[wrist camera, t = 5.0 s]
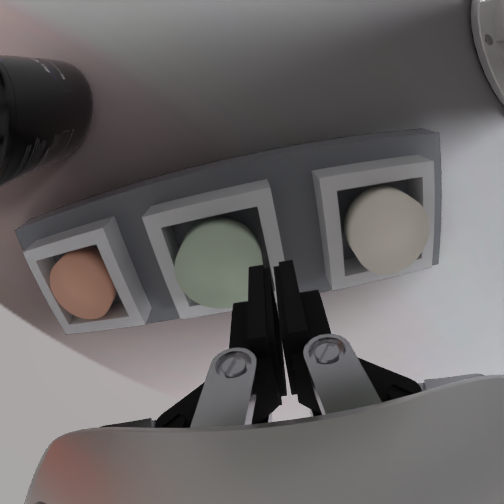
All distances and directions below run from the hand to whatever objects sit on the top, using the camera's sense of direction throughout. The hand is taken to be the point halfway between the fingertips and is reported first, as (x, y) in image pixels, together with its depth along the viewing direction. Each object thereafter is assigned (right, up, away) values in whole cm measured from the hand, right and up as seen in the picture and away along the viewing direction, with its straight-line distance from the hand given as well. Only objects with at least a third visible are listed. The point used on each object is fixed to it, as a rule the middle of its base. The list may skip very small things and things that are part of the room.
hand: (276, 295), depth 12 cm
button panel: (-3, +3, +8) cm, 9 cm away
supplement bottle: (-14, +11, +4) cm, 18 cm away
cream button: (+6, +3, +4) cm, 8 cm away
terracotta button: (-12, 0, +7) cm, 13 cm away
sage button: (-3, +1, +5) cm, 6 cm away
